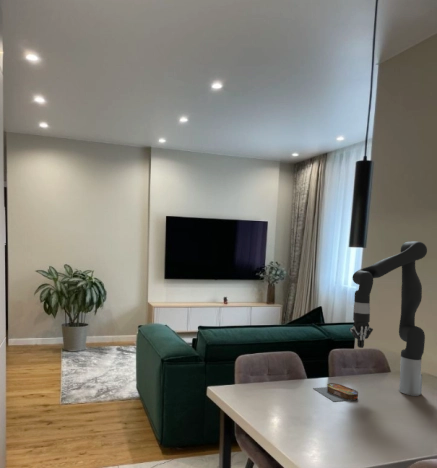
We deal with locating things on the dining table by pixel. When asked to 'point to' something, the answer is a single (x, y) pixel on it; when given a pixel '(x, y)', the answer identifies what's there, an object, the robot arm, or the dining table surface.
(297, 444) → the dining table surface
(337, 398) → the mat
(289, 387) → the dining table surface
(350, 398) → the tin
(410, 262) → the robot arm
